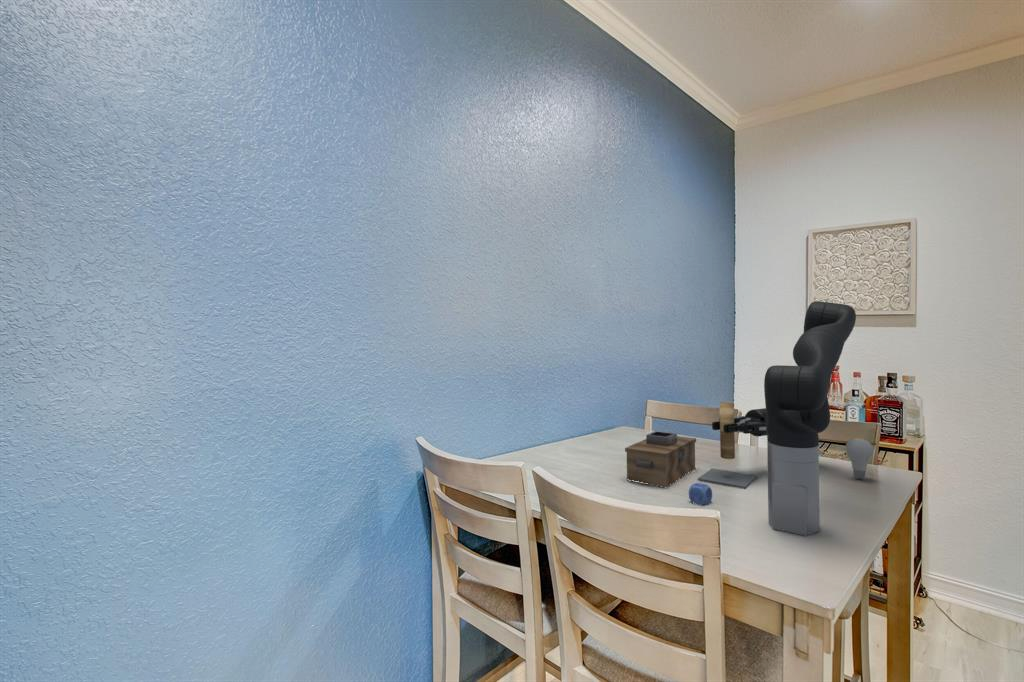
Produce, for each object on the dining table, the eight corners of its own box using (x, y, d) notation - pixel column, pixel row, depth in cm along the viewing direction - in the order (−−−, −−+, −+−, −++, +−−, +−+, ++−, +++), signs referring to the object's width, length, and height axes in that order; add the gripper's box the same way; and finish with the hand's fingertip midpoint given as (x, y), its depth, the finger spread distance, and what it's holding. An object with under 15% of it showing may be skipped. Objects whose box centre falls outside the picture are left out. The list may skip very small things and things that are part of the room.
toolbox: (664, 489, 124) (664, 455, 124) (623, 481, 132) (622, 448, 132) (698, 467, 144) (697, 437, 144) (660, 461, 151) (660, 433, 151)
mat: (745, 489, 124) (745, 486, 124) (697, 480, 131) (697, 478, 131) (757, 477, 133) (756, 475, 133) (712, 470, 141) (712, 468, 141)
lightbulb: (872, 477, 130) (872, 437, 130) (874, 484, 125) (874, 442, 125) (845, 474, 134) (844, 435, 134) (846, 480, 129) (845, 439, 128)
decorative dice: (696, 498, 118) (696, 481, 118) (712, 502, 115) (712, 485, 115) (688, 502, 115) (688, 485, 115) (705, 506, 112) (704, 489, 112)
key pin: (732, 459, 130) (731, 404, 129) (718, 457, 132) (717, 403, 132) (736, 456, 132) (735, 402, 132) (722, 454, 135) (721, 401, 134)
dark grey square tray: (668, 446, 133) (668, 437, 133) (646, 443, 137) (646, 434, 137) (677, 442, 138) (677, 433, 138) (655, 439, 142) (655, 431, 142)
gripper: (746, 405, 143) (699, 410, 138) (788, 412, 130) (738, 417, 124) (746, 430, 144) (700, 436, 138) (788, 439, 130) (739, 446, 124)
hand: (719, 427), depth 131 cm, fingers closed on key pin, 3 cm apart
